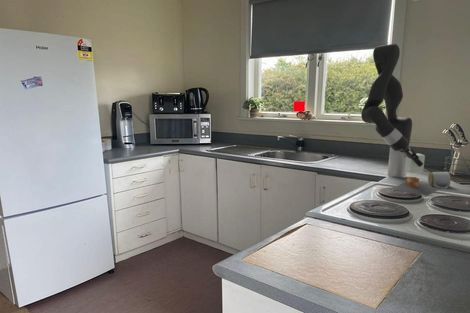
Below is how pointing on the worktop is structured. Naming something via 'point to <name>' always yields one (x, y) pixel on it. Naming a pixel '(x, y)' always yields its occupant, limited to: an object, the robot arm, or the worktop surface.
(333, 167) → the worktop surface
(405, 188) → the mat
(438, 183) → the ceramic mug
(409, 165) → the pale green block
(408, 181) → the cube
